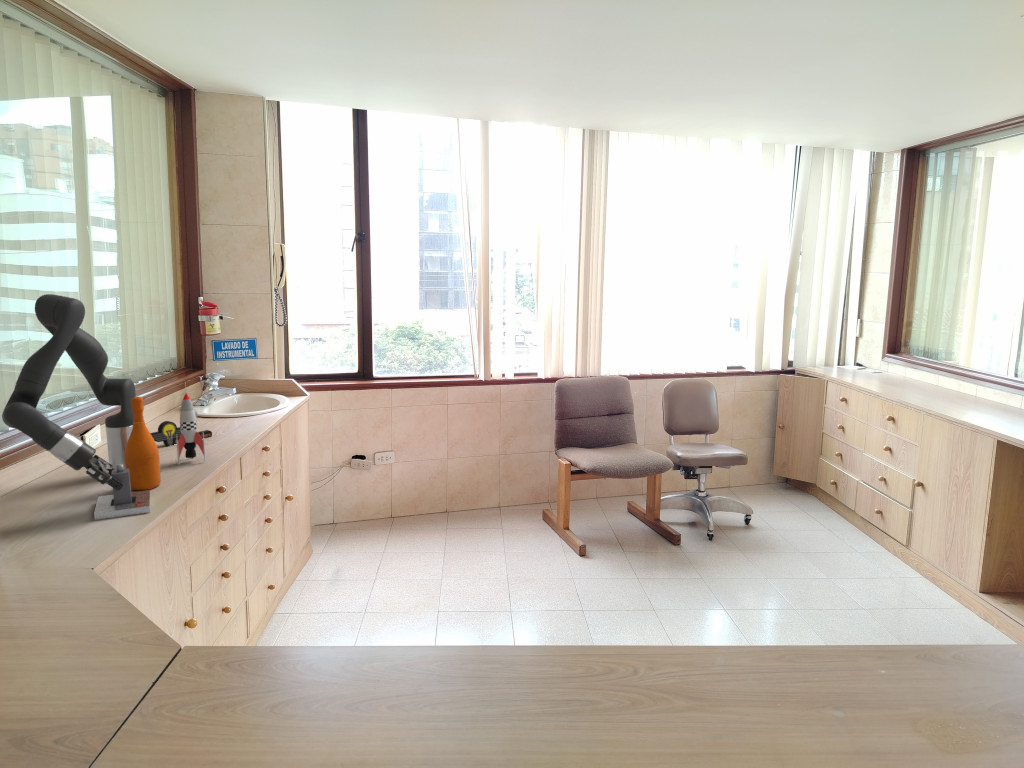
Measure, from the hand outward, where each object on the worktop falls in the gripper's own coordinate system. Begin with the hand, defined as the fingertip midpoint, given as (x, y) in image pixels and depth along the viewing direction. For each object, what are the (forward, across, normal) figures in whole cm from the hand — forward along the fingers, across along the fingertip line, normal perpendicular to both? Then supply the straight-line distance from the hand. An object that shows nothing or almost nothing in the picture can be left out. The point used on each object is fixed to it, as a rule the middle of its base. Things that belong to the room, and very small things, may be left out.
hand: (121, 483), depth 204 cm
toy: (+19, +42, -9) cm, 48 cm away
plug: (+5, 0, +5) cm, 7 cm away
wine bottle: (+9, +19, +2) cm, 21 cm away
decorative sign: (+18, +74, -7) cm, 77 cm away
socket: (+5, 0, +5) cm, 7 cm away
